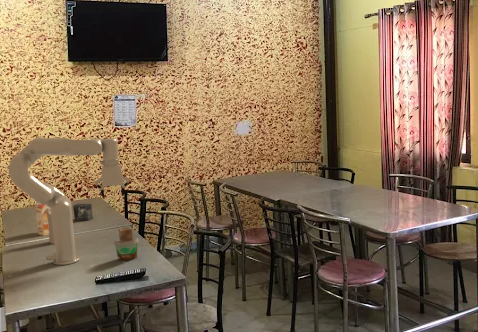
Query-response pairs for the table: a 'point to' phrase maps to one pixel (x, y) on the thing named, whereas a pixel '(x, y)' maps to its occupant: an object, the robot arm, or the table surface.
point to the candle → (50, 226)
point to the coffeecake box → (42, 219)
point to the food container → (126, 249)
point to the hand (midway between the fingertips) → (113, 196)
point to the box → (83, 212)
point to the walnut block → (125, 234)
